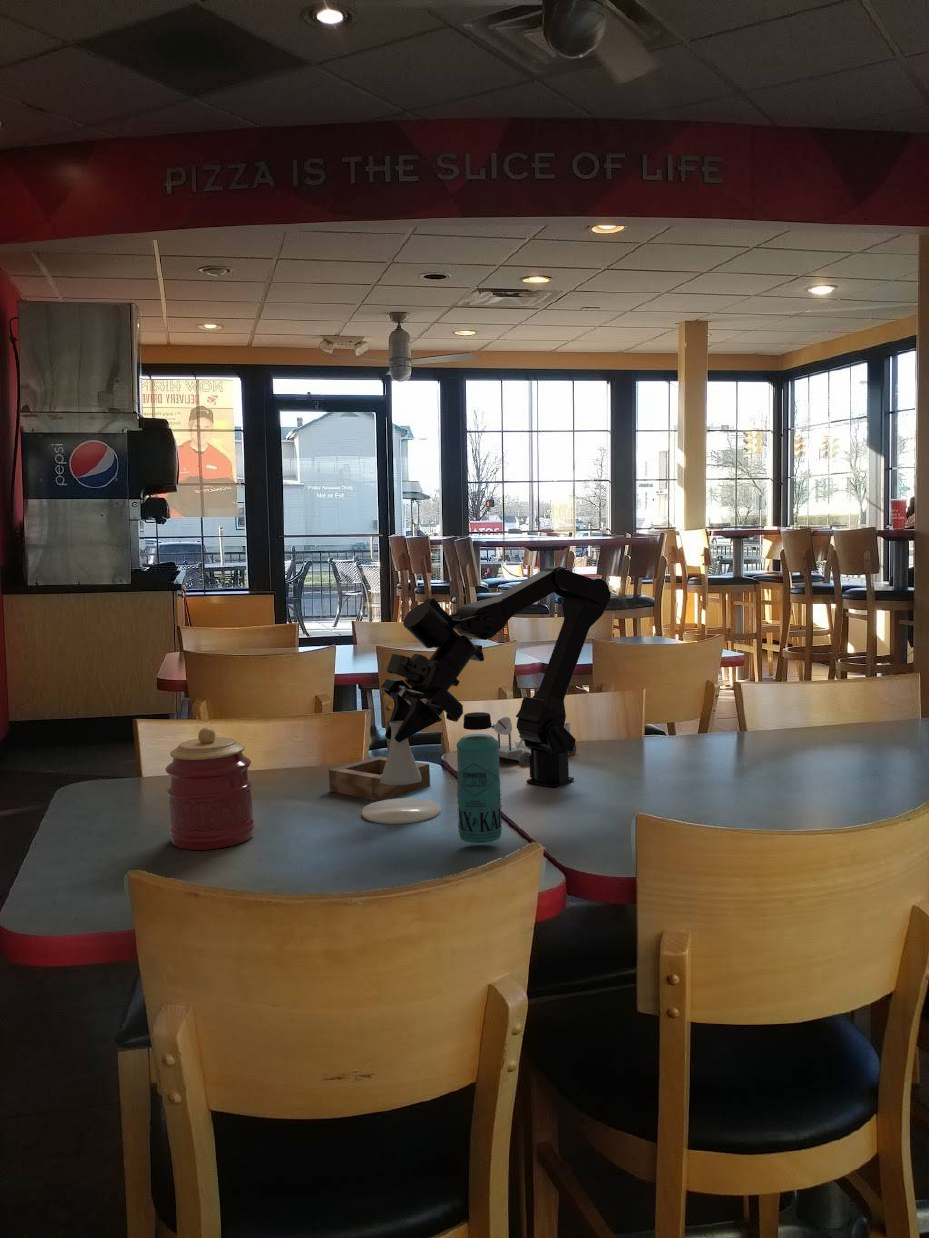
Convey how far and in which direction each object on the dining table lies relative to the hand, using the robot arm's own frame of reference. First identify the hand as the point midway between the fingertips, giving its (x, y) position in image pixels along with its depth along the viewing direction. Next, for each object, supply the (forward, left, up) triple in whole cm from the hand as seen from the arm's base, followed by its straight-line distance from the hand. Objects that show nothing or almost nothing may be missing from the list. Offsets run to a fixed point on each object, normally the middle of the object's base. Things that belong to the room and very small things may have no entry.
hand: (391, 739), depth 172 cm
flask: (-1, -1, -8) cm, 8 cm away
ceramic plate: (0, -1, -13) cm, 13 cm away
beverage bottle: (-23, +6, -13) cm, 27 cm away
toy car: (+7, -46, -13) cm, 49 cm away
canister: (+15, +26, -13) cm, 32 cm away
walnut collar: (+15, -11, -13) cm, 22 cm away
